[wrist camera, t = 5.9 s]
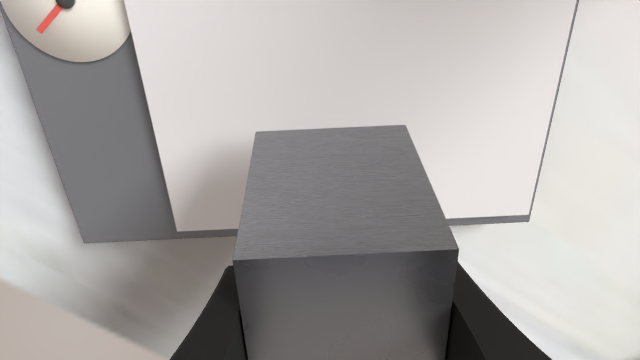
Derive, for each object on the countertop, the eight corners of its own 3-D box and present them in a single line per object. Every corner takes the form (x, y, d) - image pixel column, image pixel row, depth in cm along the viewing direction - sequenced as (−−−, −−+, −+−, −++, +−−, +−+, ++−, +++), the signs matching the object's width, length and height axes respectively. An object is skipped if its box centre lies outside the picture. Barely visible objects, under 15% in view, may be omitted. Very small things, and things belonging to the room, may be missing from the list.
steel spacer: (268, 250, 18) (255, 405, 12) (255, 131, 15) (232, 260, 10) (399, 244, 18) (439, 395, 12) (405, 124, 15) (459, 249, 10)
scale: (98, 216, 24) (77, 254, 22) (-36, -196, 16) (-94, -206, 14) (513, 197, 25) (535, 232, 22) (596, -220, 16) (647, -235, 14)
